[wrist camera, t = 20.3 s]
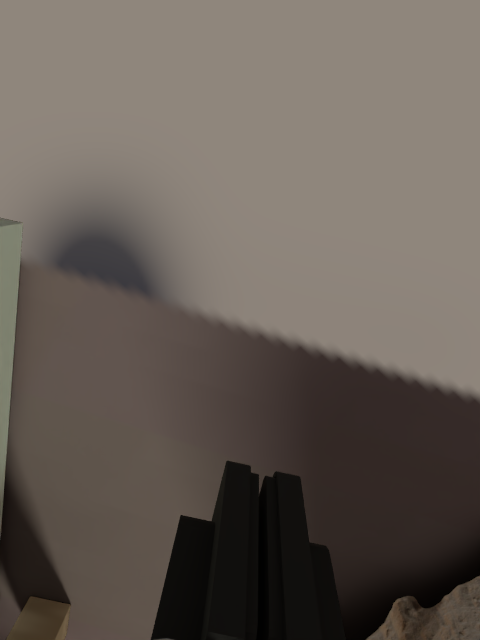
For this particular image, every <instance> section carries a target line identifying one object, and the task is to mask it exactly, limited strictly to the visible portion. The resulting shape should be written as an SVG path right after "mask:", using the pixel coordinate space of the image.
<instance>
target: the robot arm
mask: <svg viewBox="0 0 480 640" xmlns="http://www.w3.org/2000/svg"><path fill="white" fill-rule="evenodd" d="M151 640H346V638H345V633H344V628H343V622H342V617H341V612H340V606H339V601H338V595H337V590H336V585H335V579H334V574H333V569H332V563H331V558H330V554H329V550H328V548H327V547H326V546H323V545H319V544H314V543H309V538H308V530H307V523H306V515H305V508H304V500H303V493H302V486H301V479H300V477H299V476H295V475H291V474H286V473H281V472H277V471H276V472H275V473H274V475H273V477H268V476H265V478H264V480H263V484H262V487H261V491H260V494H259V475H258V474H255V473H251V466H249V465H245V464H240V463H235V462H231V461H227V462H226V465H225V469H224V473H223V477H222V481H221V485H220V489H219V493H218V497H217V501H216V505H215V510H214V514H213V518H212V522H211V521H206V520H202V519H197V518H192V517H188V516H183V515H181V516H180V520H179V524H178V528H177V533H176V537H175V541H174V545H173V549H172V554H171V558H170V562H169V566H168V570H167V574H166V579H165V583H164V587H163V591H162V595H161V600H160V604H159V608H158V612H157V616H156V620H155V625H154V629H153V633H152V637H151Z"/></svg>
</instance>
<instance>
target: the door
mask: <svg viewBox="0 0 480 640" xmlns="http://www.w3.org/2000/svg"><path fill="white" fill-rule="evenodd" d="M22 231H23V223H21V222H17V221H12V220H8V219H3V218H0V538H1V524H2V510H3V496H4V482H5V468H6V454H7V440H8V426H9V412H10V398H11V384H12V370H13V357H14V343H15V329H16V315H17V301H18V287H19V273H20V259H21V244H22Z"/></svg>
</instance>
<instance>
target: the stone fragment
mask: <svg viewBox="0 0 480 640" xmlns="http://www.w3.org/2000/svg"><path fill="white" fill-rule="evenodd" d="M366 640H480V576H478V577H476V578H474V579H473V580H471V581H469V582H467V583H464V584H462V585H458V586H457V587H456V588H455V589H454V590H453V591H452V592H451V593H450V594H448V595H446V596H444V598H443V599H442V601H441V602H440V603H438V604H437V605H435V606H433V607H431V608H427V609H425V608H422V607H421V606H420V605H419V604H418V602H417V600H416V599H415V598H414V597H413V596H405V597H403V598H399V599H397V600H396V601H395V602H394V603H393V607H392V609H391V610H390V612H389V614H388V616H387V619H386V621H385V623H384V624H383V625H381V626H380V627H379V629H378V630H377V631H376V632H375V633H374V634H372V635H371V636H369V637H368V638H367V639H366Z"/></svg>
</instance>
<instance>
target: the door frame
mask: <svg viewBox="0 0 480 640" xmlns="http://www.w3.org/2000/svg"><path fill="white" fill-rule="evenodd" d="M70 606H71V605H70V604H66V603H61V602H56V601H51V600H46V599H41V598H37V597H32V596H30V598H29V599H28V601H27V603H26V605H25V607H24V608H23V610H22V612H21V614H20V616H19V617H18V619H17V621H16V623H15V625H14V626H13V628H12V630H11V632H10V634H9V635H8V637H7V639H6V640H64V639H65V637H66V634H67V627H68V620H69V613H70Z"/></svg>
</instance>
